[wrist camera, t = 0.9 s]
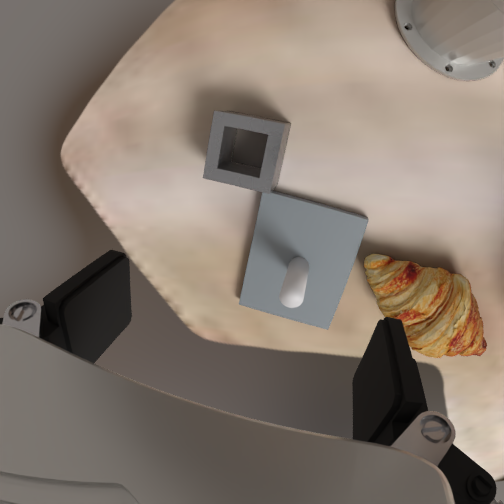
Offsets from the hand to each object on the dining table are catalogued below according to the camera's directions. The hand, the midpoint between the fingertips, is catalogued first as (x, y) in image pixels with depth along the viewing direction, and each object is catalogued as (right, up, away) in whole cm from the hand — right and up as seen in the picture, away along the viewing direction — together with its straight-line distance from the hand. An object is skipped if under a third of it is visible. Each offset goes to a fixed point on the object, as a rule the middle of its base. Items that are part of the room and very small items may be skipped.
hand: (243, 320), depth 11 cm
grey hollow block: (0, +13, +21) cm, 24 cm away
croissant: (+21, -3, +23) cm, 31 cm away
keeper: (+6, +1, +24) cm, 25 cm away
